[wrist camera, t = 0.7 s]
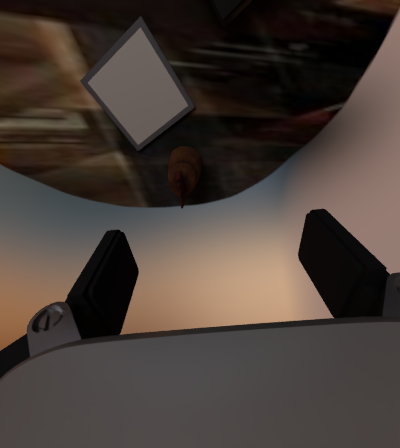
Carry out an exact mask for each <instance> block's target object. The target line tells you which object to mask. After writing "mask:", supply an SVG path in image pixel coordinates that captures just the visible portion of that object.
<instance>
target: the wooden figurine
mask: <svg viewBox="0 0 400 448" xmlns="http://www.w3.org/2000/svg"><path fill="white" fill-rule="evenodd" d="M201 168H202V158H201V156H200V154H199V153H198V151H197V150H195V149H193V148H192V147H187V146H180V147H178V148H176V149H175V150H173V151H172V154H171V157H170V160H169V165H168V184H169V187H170V189H171V190H172V191H173V192H174V193H176V194H177V195H179V197H181V208H183V206H184V202H185V199H186V195H187V194H189V193H190V192H192V190H193V189H194V188H195V186H196V184H197V181H198V180H199V177H200V174H201Z"/></svg>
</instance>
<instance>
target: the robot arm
mask: <svg viewBox="0 0 400 448" xmlns="http://www.w3.org/2000/svg"><path fill="white" fill-rule="evenodd" d="M298 256H299V260H300V262H301V264H302V265H303V267H304V269H305V270H306V272H307V274H308V275H309V277H310V279H311V281H312V282H313V284H314V286H315V287H316V289H317V291H318V292H319V294H320V296H321V297H322V299H323V301H324V302H325V304H326V306H327V308H328V309H329V311H330V313H331V314H332V315H333V317H334V318H330V319H315V320H302V321H287V322H273V323H259V324H247V325H234V326H220V327H207V328H194V329H182V330H170V331H159V332H145V333H134V334H124V335H119V334H120V333H121V329H122V327H123V323H124V320H125V316H126V313H127V310H128V307H129V303H130V300H131V297H132V293H133V290H134V287H135V284H136V280H137V277H138V273H139V271H138V267H137V264H136V262H135V259H134V257H133V254H132V251H131V249H130V246H129V244H128V241H127V239H126V236H125V234H124V233H123V232H121V231H120V230H110V231H107V232H106V233H105V235H104V237H103V238H102V240H101V241H100V243H99V245H98V246H97V248H96V250H95V251H94V253H93V254H92V256H91V258H90V259H89V261H88V263H87V264H86V266H85V268H84V269H83V271H82V272H81V274H80V276H79V278H78V279H77V281H76V282H75V284H74V286H73V287H72V289H71V291H70V292H69V294H68V295H67V296H68V297H67V299H66V301H65V302H55V303H52V304H50V305H48V306H45V307H44V308H42V309H41V310H40V311H39V312H37V313H36V314H35V315H34V316H33V318H32V319H31V320H30V322H29V324H28V326H27V334H25V335H24V336H22V337H21V338H19V339H18V340H16V341H15V342H13V343H12V344H10V345H9V346H7V347H6V348H4V349H3V350H1V351H0V448H400V273H393V274H391V275H390V274H389V273H388V272H387V271H386V267H385V266H384V265H383V264H382V263H381V262H380V261H379V260H378V259H377V258H376V257H375V256H374V255H372V254H371V253H370V252H369V251H368V250H367V249H366V248H365V247H364V246H363V245H362V244H361V243H360V242H359V241H358V240H357V239H356V238H355V237H354V236H353V235H352V234H351V233H349V232H348V231H347V230H346V229H345V228H344V227H343V226H342V225H341V224H340V223H339V222H338V221H337V220H336V219H335V218H334V217H333V216H332V215H331V214H330V213H328V211H327V210H325V209H317V210H311V211H310V213H308V214H307V215H306V219H305V223H304V228H303V233H302V238H301V242H300V248H299V252H298Z"/></svg>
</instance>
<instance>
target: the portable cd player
mask: <svg viewBox="0 0 400 448" xmlns="http://www.w3.org/2000/svg"><path fill="white" fill-rule="evenodd" d="M252 1H253V0H209V2H210V4H211V6H212V8H213V10H214V12H215V14H216V16H217V18H218V20H219V22H220V24H221V26H222V27H223V28H224V29H225V28H226V27H227V26H228V25H229V24H230V23H231V22H232V21H233V20H234V19H235V18H236V17H237V16H238V15H239V14H240V13H241V12H242V11H243V10H244V9H245V8H246V7H247V6H248V5H249V4H250V3H251V2H252Z"/></svg>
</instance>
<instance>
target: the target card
mask: <svg viewBox="0 0 400 448" xmlns="http://www.w3.org/2000/svg"><path fill="white" fill-rule="evenodd" d="M81 83H82V84H83V85H84V86H85V88H86V89H87V90H88V91H89V92H90V94H91V95H92V96H93V97H94V98H95V100H96V101H97V102H98V103H99V104H100V106H101V107H102V108H103V109H104V111H105V112H106V113H107V114H108V115H109V117H110V118H111V119H112V120H113V121H114V123H115V124H116V125H117V126H118V127H119V129H120V130H121V131H122V132H123V133H124V135H125V136H126V137H127V138H128V140H129V141H130V142H131V143H132V144H133V146H134V147H135V148H136V149H137V150H138V151H139V150H140V149H141V148H143V147H144V146H145V145H147V144H148V143H149V142H151V141H152V140H153V139H154V138H156V137H157V136H158V135H160V134H161V133H162V132H163V131H165V130H166V129H167V128H169V127H170V126H171V125H172V124H174V123H175V122H176V121H178V120H179V119H180V118H181V117H183V116H184V115H185V114H187V113H188V112H189V111H191V110H192V109H193V108H194V107H195V105H194V104H193V102H192V100H191V99H190V97H189V95H188V94H187V92H186V90H185V89H184V87H183V85H182V84H181V82H180V80H179V79H178V77H177V75H176V74H175V72H174V70H173V69H172V67H171V65H170V64H169V62H168V60H167V59H166V57H165V55H164V54H163V52H162V50H161V49H160V47H159V45H158V44H157V42H156V40H155V38H154V37H153V35H152V33H151V32H150V30H149V28H148V27H147V25H146V23H145V22H144V20H143V18H142V17H141V16H140V17H139V19H138V20H137V21H136V22H135V23H134V24H133V25H132V26H131V27H130V28H129V29H128V30H127V31H126V32H125V34H124V35H123V36H122V37H121V38H120V39H119V40H118V41H117V42H116V43H115V44H114V45H113V46H112V47H111V49H110V50H109V51H108V52H107V53H106V54H105V55H104V56H103V57H102V58H101V59H100V60H99V61H98V62H97V64H96V65H95V66H94V67H93V68H92V69H91V70H90V71H89V72H88V73H87V74H86V75H85V76H84V77H83V79H82V80H81Z"/></svg>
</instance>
